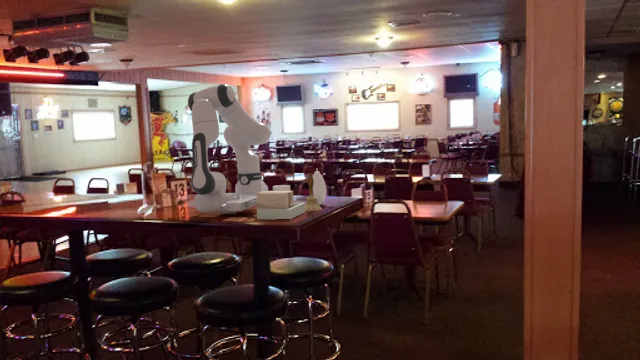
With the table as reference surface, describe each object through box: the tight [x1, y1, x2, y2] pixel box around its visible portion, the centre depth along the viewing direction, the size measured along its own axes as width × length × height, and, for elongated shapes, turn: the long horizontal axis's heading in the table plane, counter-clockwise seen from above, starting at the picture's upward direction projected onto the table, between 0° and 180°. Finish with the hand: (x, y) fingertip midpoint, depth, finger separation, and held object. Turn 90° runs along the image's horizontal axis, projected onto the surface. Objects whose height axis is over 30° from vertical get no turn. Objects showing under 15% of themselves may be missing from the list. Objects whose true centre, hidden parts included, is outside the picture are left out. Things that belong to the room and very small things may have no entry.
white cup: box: [272, 184, 291, 191], centre depth 250 cm, size 8×8×10 cm
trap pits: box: [198, 213, 249, 222], centre depth 231 cm, size 20×24×1 cm
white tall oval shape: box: [308, 169, 327, 206], centre depth 255 cm, size 8×8×18 cm
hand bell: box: [305, 173, 323, 212], centre depth 240 cm, size 8×8×16 cm
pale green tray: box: [256, 202, 306, 220], centre depth 228 cm, size 18×14×4 cm
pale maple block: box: [256, 190, 295, 210], centre depth 229 cm, size 8×13×10 cm, turn 72°
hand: (260, 203), depth 231 cm, fingers closed
